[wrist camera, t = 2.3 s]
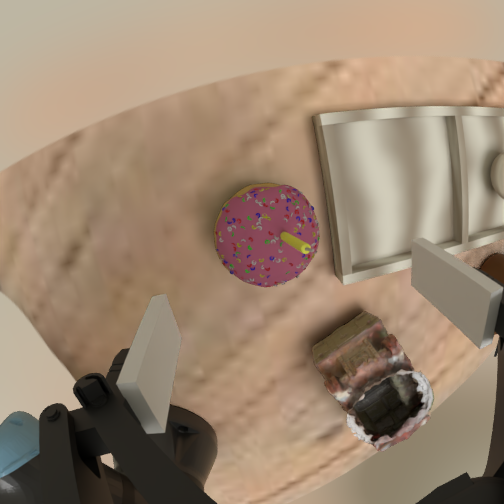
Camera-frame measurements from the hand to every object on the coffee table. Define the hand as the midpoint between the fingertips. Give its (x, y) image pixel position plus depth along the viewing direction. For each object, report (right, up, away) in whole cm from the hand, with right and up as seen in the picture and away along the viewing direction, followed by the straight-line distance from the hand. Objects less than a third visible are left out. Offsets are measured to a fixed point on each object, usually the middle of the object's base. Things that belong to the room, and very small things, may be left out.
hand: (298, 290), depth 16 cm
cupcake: (-1, +5, +14) cm, 15 cm away
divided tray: (+20, +10, +14) cm, 26 cm away
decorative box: (+13, -12, +21) cm, 28 cm away
